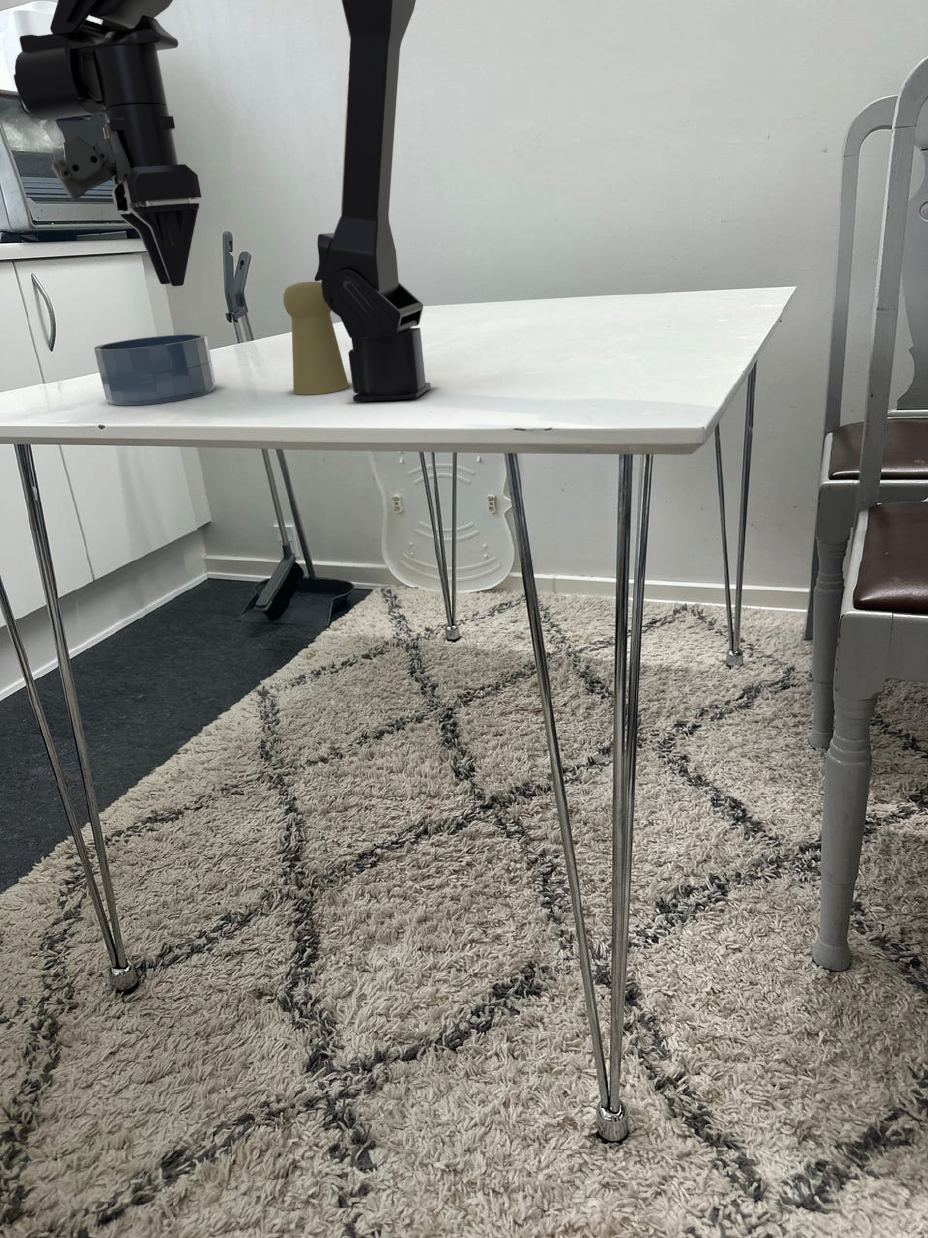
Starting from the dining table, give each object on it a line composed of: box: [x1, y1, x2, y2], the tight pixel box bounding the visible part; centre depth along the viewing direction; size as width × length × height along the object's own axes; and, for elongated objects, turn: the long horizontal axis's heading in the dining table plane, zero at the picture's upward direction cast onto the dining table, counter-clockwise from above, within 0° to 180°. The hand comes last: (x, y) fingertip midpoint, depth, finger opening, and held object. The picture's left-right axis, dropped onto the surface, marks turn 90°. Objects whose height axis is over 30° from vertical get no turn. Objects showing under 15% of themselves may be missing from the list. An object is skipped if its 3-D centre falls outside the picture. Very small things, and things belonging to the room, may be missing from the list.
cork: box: [282, 281, 350, 396], centre depth 95 cm, size 6×6×11 cm
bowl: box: [93, 333, 217, 407], centre depth 102 cm, size 12×12×6 cm
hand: (171, 284), depth 90 cm, fingers open, 9 cm apart
